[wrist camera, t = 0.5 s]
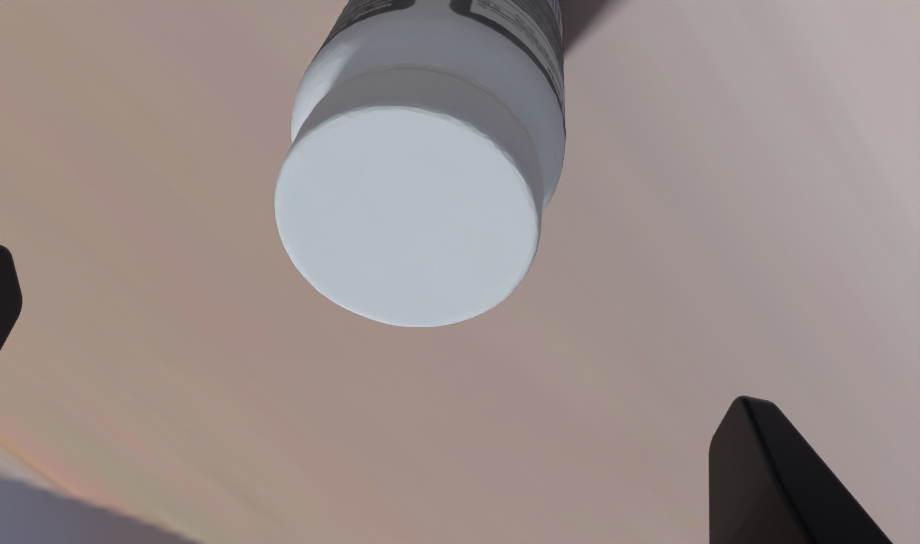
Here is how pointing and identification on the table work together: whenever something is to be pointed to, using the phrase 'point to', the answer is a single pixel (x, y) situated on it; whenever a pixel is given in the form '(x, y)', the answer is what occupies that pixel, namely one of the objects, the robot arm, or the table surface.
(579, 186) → the table surface
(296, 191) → the pill bottle
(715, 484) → the robot arm
